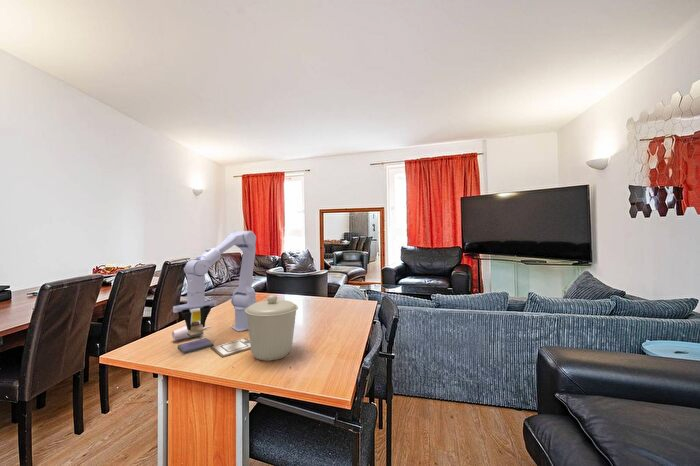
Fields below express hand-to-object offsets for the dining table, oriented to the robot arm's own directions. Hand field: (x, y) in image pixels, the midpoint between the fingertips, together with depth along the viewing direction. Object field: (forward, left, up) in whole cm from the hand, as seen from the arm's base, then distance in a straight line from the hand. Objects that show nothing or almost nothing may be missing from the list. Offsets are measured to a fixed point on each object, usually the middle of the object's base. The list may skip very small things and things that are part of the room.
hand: (195, 327), depth 103 cm
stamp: (0, 0, -3) cm, 3 cm away
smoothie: (+5, -11, -4) cm, 13 cm away
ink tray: (0, 0, -7) cm, 7 cm away
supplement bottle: (-6, -20, -7) cm, 22 cm away
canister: (-17, +26, -7) cm, 32 cm away
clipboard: (-10, +11, -7) cm, 16 cm away
